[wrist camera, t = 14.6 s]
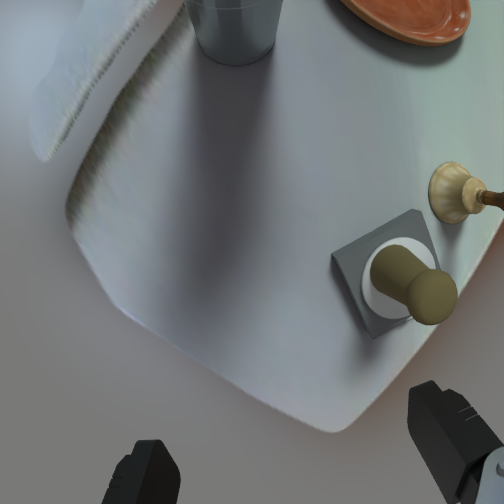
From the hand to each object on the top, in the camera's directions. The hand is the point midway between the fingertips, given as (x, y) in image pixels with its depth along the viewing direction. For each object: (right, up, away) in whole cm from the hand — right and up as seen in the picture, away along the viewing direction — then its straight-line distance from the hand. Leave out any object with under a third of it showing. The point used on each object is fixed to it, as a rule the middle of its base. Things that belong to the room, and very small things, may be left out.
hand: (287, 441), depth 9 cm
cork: (+15, +4, +27) cm, 31 cm away
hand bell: (+26, +14, +28) cm, 40 cm away
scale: (+17, +3, +30) cm, 35 cm away
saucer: (+19, +44, +22) cm, 52 cm away
